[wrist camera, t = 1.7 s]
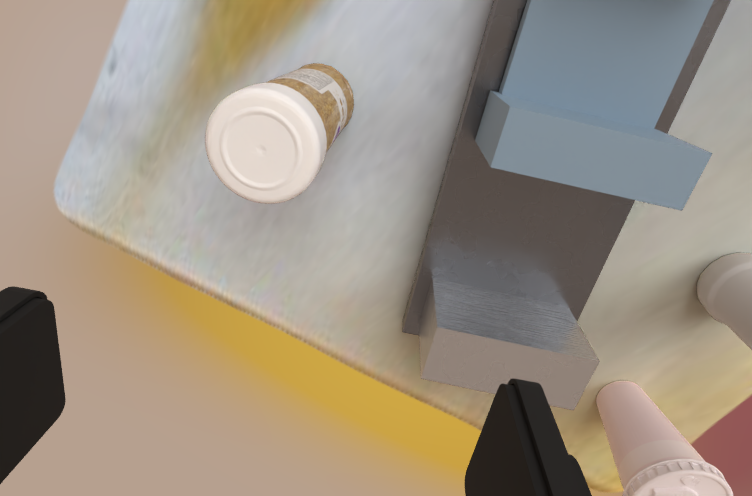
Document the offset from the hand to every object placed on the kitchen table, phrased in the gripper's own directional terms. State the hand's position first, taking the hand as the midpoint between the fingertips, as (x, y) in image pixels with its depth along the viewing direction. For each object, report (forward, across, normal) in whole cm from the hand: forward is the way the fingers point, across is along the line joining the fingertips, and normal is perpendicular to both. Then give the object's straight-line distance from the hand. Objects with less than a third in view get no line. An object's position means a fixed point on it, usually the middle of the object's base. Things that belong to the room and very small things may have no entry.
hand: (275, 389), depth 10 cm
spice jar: (+24, +3, -2) cm, 24 cm away
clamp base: (+23, -12, -2) cm, 26 cm away
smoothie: (+24, -24, +16) cm, 38 cm away
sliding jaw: (+22, -12, -9) cm, 26 cm away
